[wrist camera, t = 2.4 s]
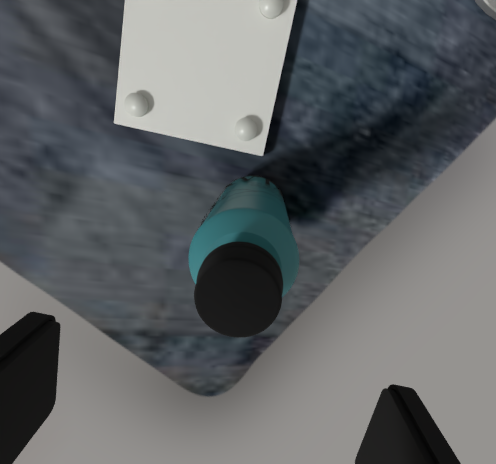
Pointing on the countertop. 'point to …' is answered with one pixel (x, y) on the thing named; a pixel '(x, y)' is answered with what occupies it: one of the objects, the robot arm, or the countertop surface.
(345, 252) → the countertop surface
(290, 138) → the countertop surface
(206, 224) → the beverage bottle
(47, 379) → the robot arm
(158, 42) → the base plate
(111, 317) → the countertop surface
